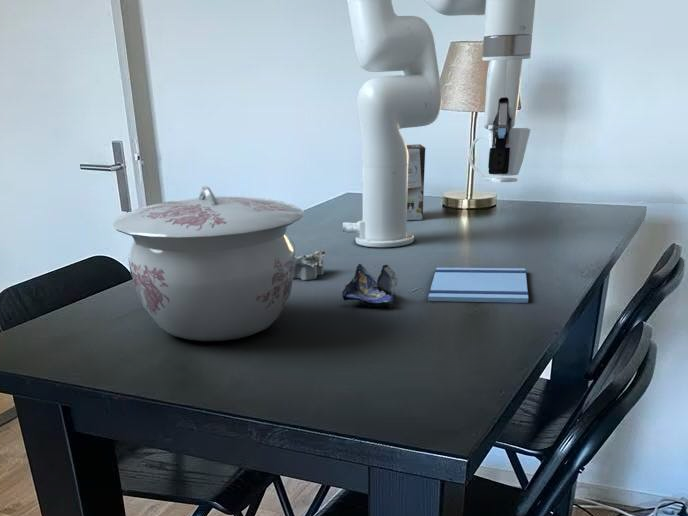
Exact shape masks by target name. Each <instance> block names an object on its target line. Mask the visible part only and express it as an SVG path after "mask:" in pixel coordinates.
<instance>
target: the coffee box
mask: <svg viewBox="0 0 688 516" xmlns="http://www.w3.org/2000/svg"><path fill="white" fill-rule="evenodd" d="M406 146H407V149H408V195H407V221H422V220H424V219H423V217H424V216H423V215H424V195H425V194H424V193H425V192H424V191H425V169H426V167H425V166H426V147H425V146H424V145H422V144H418V143H417V144H406Z"/></svg>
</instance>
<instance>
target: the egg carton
mask: <svg viewBox="0 0 688 516" xmlns="http://www.w3.org/2000/svg"><path fill="white" fill-rule="evenodd" d="M325 255H326V252H325V250H322V251H321V250H318V251H316V250H315V251H310V252H309V254H305V253H304V254H302V255H300V256H299V255H298V256H297V255H295V269H294V276H293V279H301V281H309V280H315V279H317V278H318V276H323V275H324V273H325V272H324V260H323V259H322V258H324V257H325Z"/></svg>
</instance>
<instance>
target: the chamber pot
mask: <svg viewBox="0 0 688 516" xmlns="http://www.w3.org/2000/svg"><path fill="white" fill-rule="evenodd" d="M303 217H304V209H302V208H301V207H298V206H297V205H295V204H292V203H288V202H284V201H282V200H276V199H272V198H265V197H264V198H263V197H255V196H254V197H253V196H242V195H241V196H237V195H233V196H232V195H231V196H230V195H222V196H221V195H220V196H219V195H218V196H215V194H214V193H213V191H212V189H211V188H210V187H209V186H208V185H202V186H201V187H200V191H199V194H198V197H191V198H182V199H175V200H169V201H163V202H159V203H155V204H150V205H147V206H143V207H139V208H137V209H134V210H131V211H130V212H127V213H125V214H122V215H120V216H118V217H117V218H115V220H114V221H113V222H112V226H113V228H114V230H116V231H117V232H119V233H121V234H124V235H128V236H131V237H132V238H133V242H132V245H131V248H130V250H129V253H128V255H127V259H128V265H129V272H130V276H131V279H132V281H133V284H134V287H135V290H136V294H137V296H138V299H139V301H140V303H141V305H142V307H143V308H144V309H145V311H146V312H147V313H148V314H149V316H150V317H151V318H152V319H153V321H154V323H156V324H157V326H158V327H159V328H160V329H162V330H163V331H164V332H165V333H167V334H169V335H171V336H173V337H176V338H180V339H184V340H189V341H194V342H203V343H219V342H220V343H221V342H222V343H223V342H230V341H236V340H241V339H245V338H247V337H250V336H252V335H255V334H257V333H259V332H262V331H264V330H267V329H268V328H270V327H271V326H272V325H274V323H275V322H276V321H277V320H278V319H279V317H280V315H281V313H282V312H283V309H284V307H285V305H286V304H287V301H288V300H289V298H290V296H291V293H292V288H293V282H294V278H293V276H294V269H295V256H296V245H295V243H294V241H293V240H292V238H291V236H290V234H289V233H288V231H287V228H288V227H289V226H291V225H293V224H294V223H297V222H298V221H300V220H302V218H303Z"/></svg>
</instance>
